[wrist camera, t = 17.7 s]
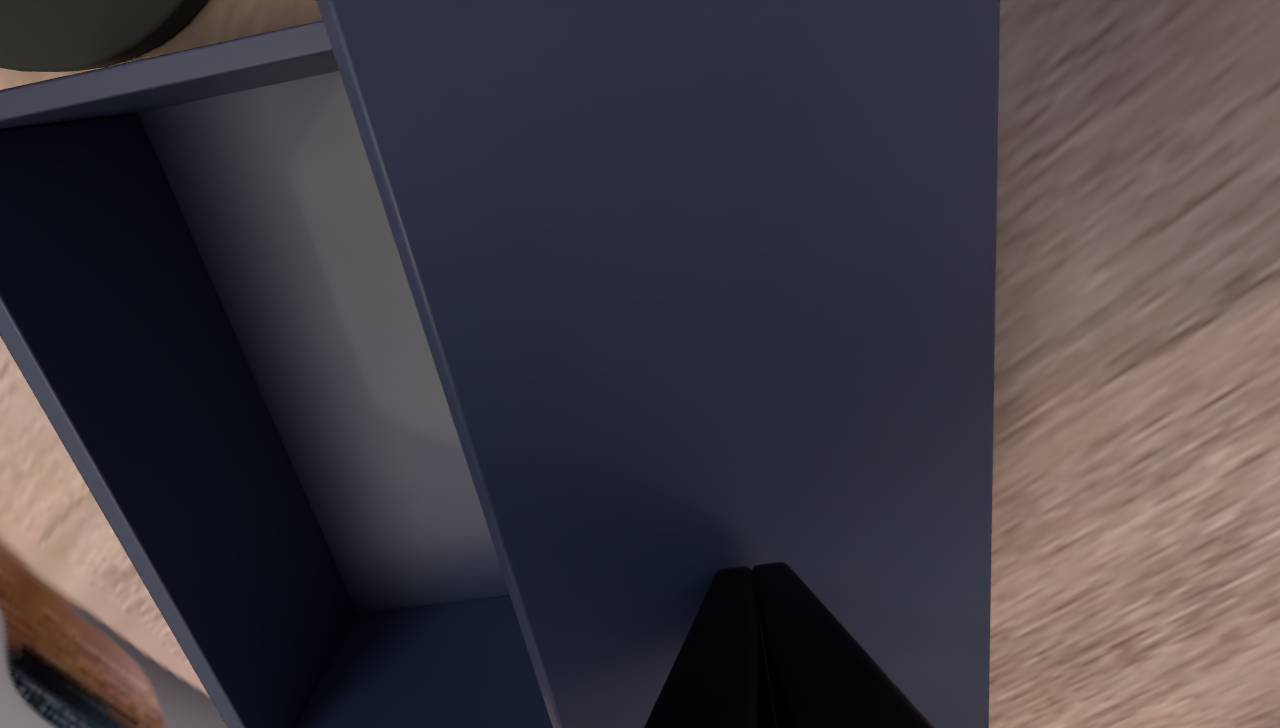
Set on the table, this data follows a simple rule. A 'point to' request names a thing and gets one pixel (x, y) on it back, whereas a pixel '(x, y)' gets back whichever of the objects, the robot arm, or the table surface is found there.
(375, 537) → the carton
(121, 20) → the disc
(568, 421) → the flap
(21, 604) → the table surface
